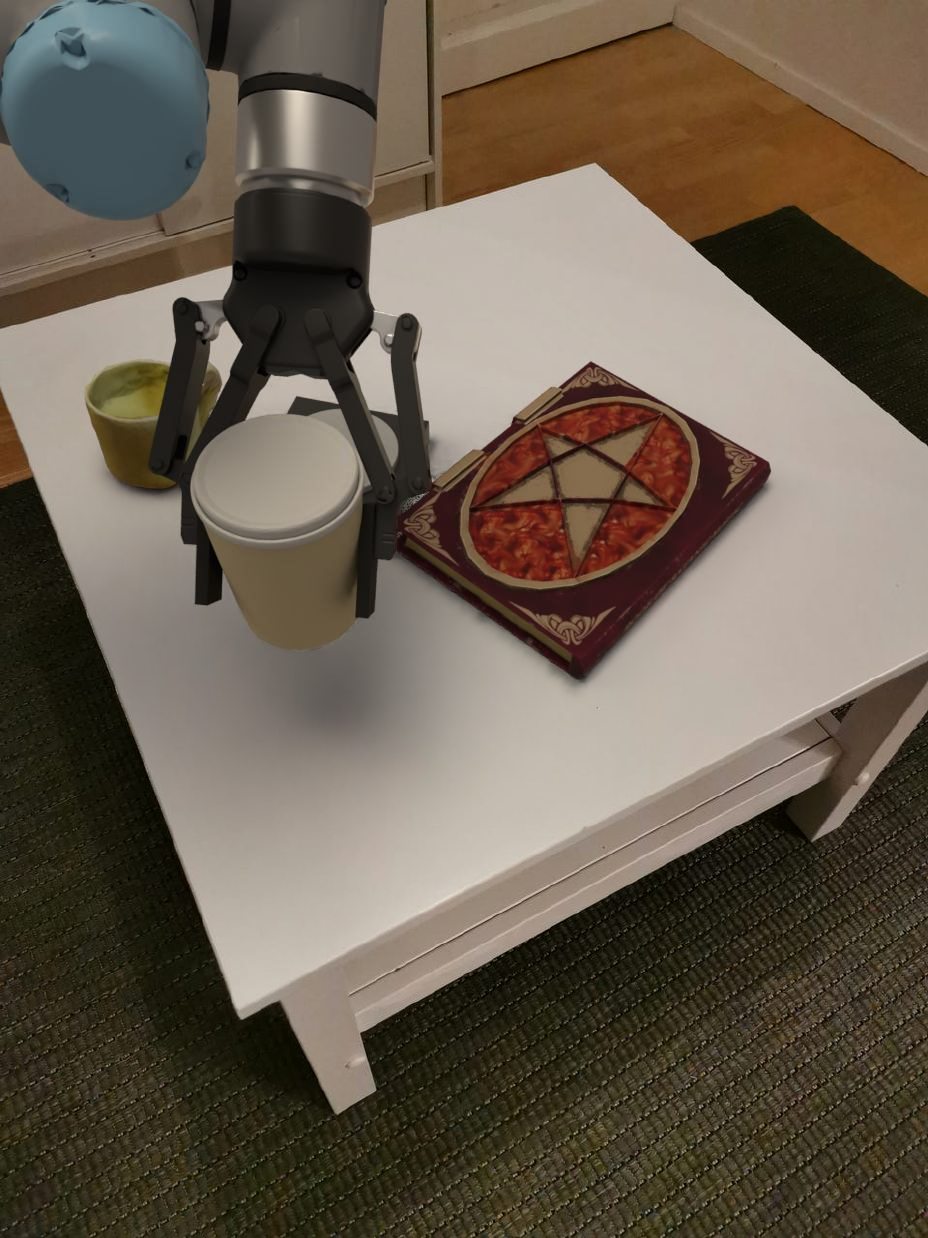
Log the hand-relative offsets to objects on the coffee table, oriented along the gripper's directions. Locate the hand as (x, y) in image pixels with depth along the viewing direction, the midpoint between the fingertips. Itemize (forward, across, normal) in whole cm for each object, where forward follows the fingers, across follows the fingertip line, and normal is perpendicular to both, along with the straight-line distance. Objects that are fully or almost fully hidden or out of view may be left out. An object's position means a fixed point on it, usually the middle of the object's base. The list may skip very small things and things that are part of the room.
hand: (286, 608), depth 54 cm
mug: (-9, +19, -33) cm, 39 cm away
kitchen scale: (-8, +3, -31) cm, 32 cm away
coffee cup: (0, 0, -5) cm, 5 cm away
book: (-6, -19, -30) cm, 36 cm away
